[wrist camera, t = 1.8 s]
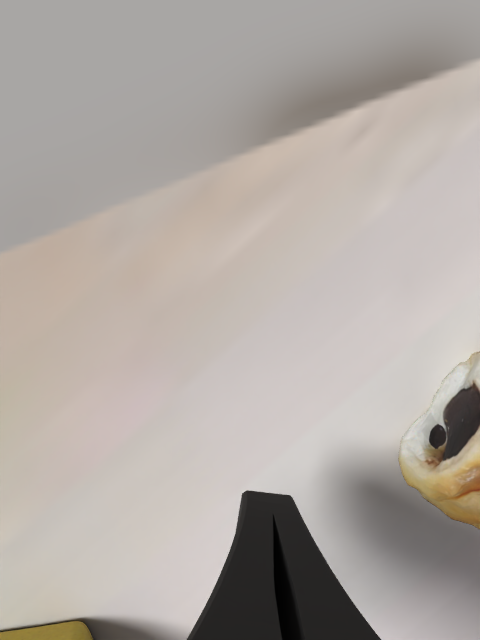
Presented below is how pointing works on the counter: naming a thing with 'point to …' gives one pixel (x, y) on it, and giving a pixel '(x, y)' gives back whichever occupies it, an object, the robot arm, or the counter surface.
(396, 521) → the counter surface
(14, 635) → the flower pot
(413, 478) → the pastry
